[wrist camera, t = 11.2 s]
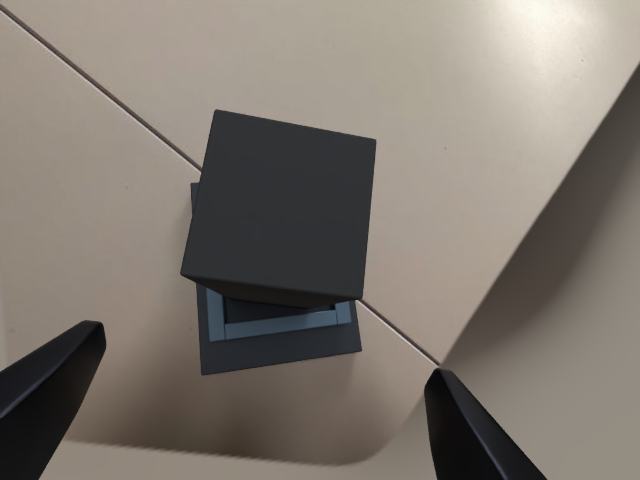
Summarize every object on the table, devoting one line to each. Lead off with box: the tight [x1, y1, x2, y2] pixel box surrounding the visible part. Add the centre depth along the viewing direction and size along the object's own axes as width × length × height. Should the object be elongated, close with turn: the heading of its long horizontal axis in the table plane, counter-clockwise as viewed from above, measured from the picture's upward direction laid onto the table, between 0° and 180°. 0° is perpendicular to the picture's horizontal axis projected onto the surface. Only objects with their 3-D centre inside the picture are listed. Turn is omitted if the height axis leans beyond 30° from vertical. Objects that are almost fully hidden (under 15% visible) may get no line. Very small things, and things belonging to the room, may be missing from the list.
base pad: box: [191, 182, 362, 375], centre depth 20 cm, size 11×9×2 cm
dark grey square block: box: [180, 109, 376, 309], centre depth 15 cm, size 4×4×12 cm
